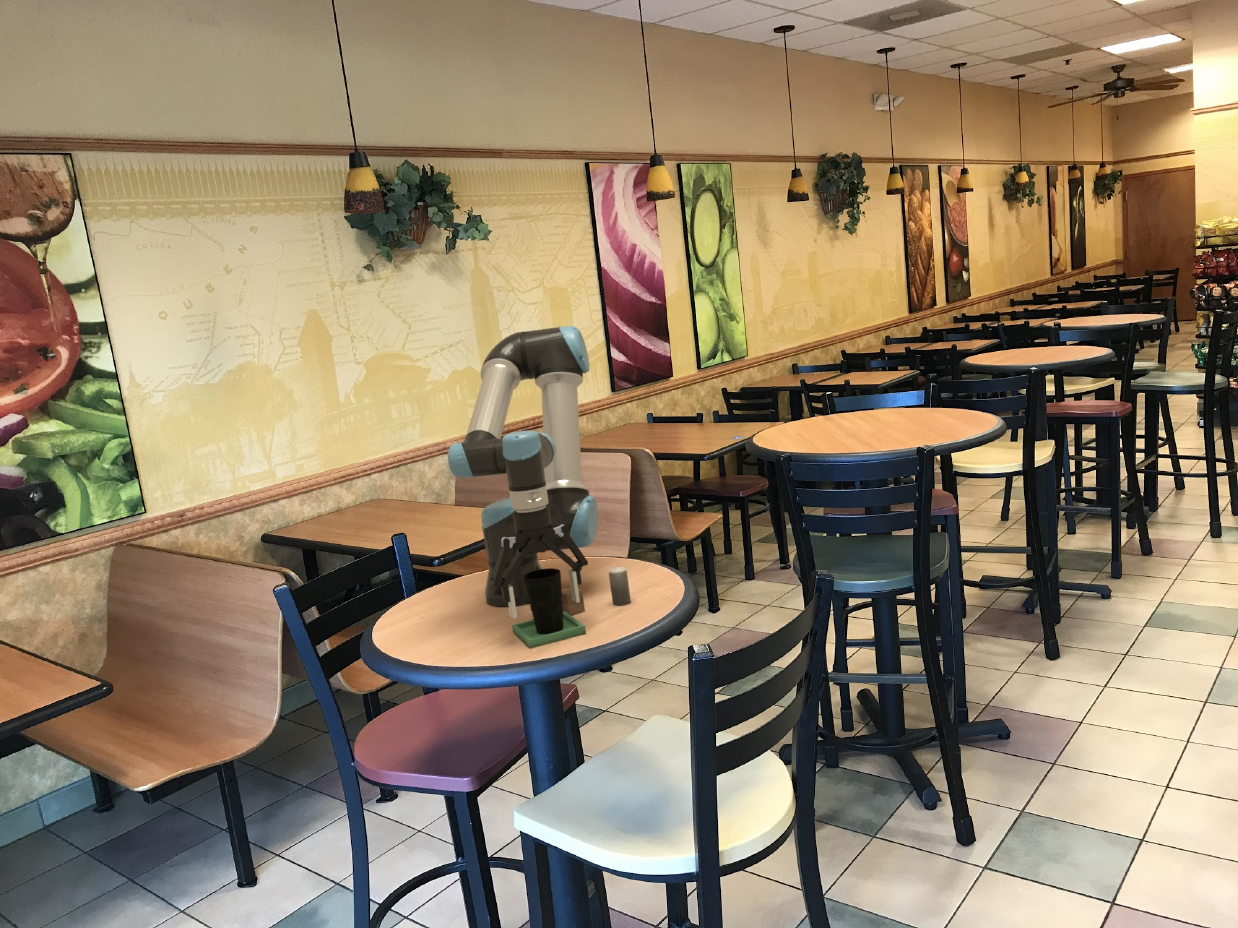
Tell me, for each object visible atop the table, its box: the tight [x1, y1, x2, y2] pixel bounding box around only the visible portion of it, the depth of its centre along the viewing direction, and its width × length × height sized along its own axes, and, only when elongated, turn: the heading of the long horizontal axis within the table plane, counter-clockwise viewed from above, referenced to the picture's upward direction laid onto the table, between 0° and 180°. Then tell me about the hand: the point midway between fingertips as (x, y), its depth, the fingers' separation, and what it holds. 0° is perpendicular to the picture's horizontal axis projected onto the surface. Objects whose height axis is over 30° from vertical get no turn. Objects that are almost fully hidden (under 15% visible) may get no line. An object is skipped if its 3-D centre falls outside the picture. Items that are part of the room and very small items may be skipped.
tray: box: [511, 612, 587, 649], centre depth 193 cm, size 12×12×2 cm
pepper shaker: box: [608, 566, 632, 607], centre depth 206 cm, size 4×4×8 cm
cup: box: [523, 567, 563, 634], centre depth 192 cm, size 8×8×12 cm
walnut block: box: [562, 587, 586, 617], centre depth 204 cm, size 4×4×5 cm
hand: (545, 608), depth 192 cm, fingers open, 13 cm apart
